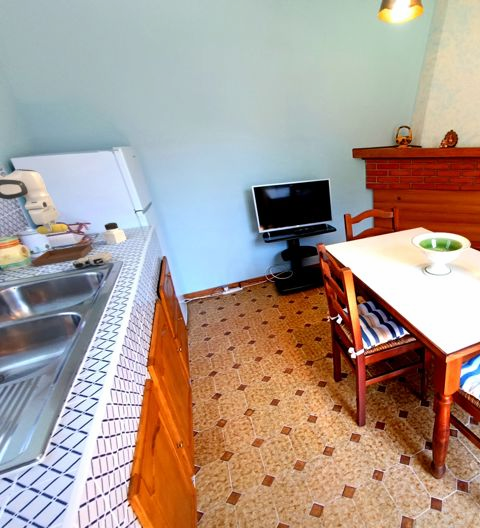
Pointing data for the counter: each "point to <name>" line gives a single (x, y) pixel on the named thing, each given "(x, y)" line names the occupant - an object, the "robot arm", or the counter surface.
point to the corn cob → (55, 229)
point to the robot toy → (92, 260)
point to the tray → (62, 255)
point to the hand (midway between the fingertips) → (52, 229)
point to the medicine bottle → (113, 234)
